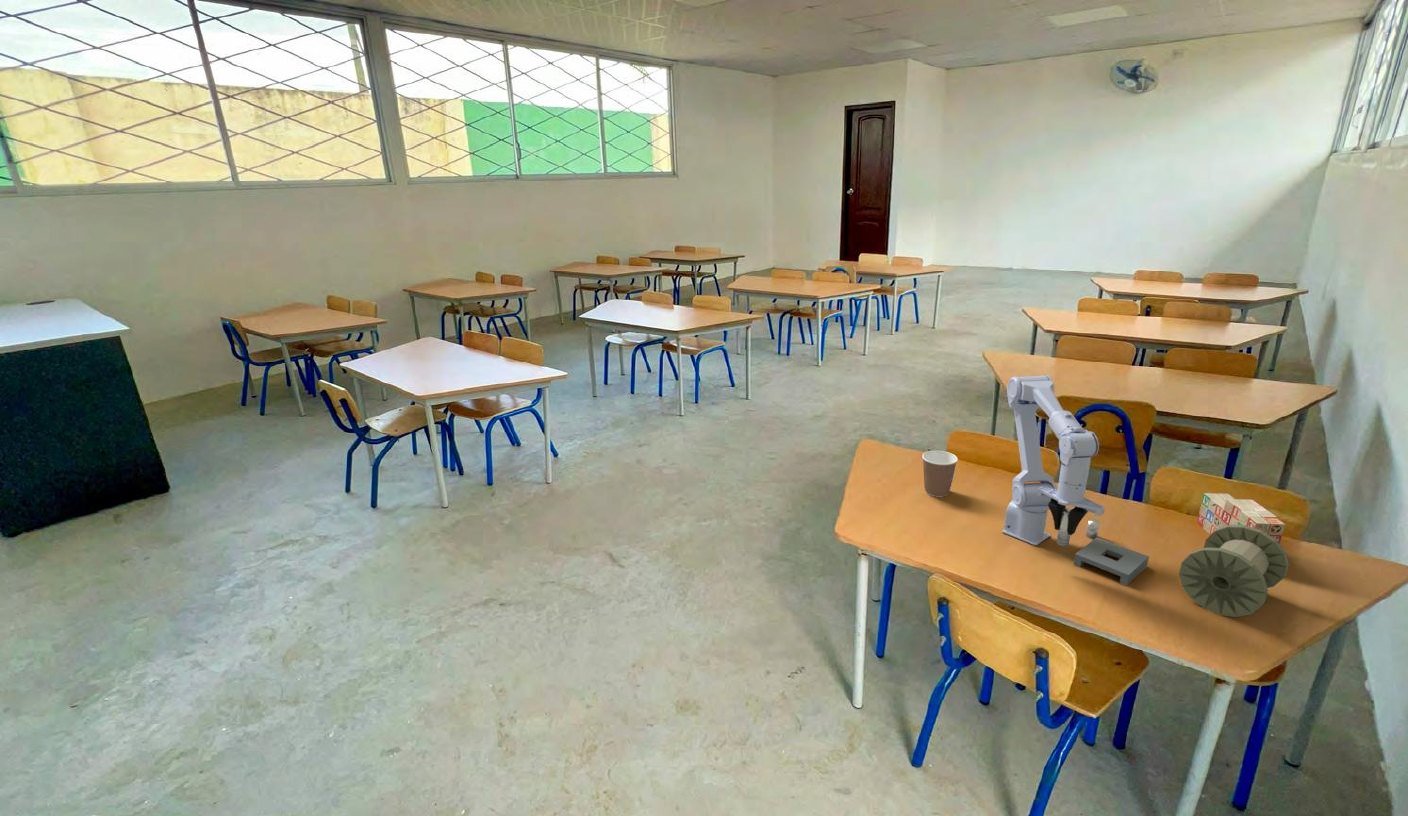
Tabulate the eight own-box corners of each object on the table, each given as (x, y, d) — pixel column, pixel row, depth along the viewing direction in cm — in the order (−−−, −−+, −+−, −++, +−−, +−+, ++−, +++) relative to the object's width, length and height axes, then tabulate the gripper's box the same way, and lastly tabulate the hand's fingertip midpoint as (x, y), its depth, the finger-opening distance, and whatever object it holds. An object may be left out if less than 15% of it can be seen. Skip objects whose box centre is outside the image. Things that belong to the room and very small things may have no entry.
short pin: (1084, 535, 173) (1086, 521, 172) (1088, 532, 175) (1091, 518, 173) (1094, 539, 171) (1097, 525, 170) (1098, 536, 173) (1101, 521, 171)
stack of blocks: (1195, 522, 177) (1205, 482, 173) (1220, 523, 176) (1231, 483, 172) (1244, 566, 158) (1256, 522, 153) (1273, 567, 157) (1286, 523, 152)
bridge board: (1073, 564, 161) (1075, 553, 160) (1094, 547, 168) (1096, 537, 167) (1126, 585, 152) (1128, 575, 151) (1146, 566, 159) (1149, 556, 158)
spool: (1200, 569, 157) (1213, 515, 152) (1278, 598, 146) (1296, 541, 141) (1173, 596, 148) (1187, 539, 143) (1254, 629, 136) (1273, 568, 131)
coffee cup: (959, 499, 195) (963, 463, 191) (925, 500, 195) (928, 464, 191) (947, 484, 205) (950, 449, 201) (915, 485, 205) (917, 451, 201)
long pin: (1054, 543, 158) (1059, 510, 155) (1059, 539, 159) (1064, 507, 157) (1065, 547, 156) (1071, 514, 153) (1070, 543, 158) (1076, 511, 155)
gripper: (1033, 475, 155) (1027, 525, 160) (1098, 496, 144) (1088, 548, 149) (1048, 467, 159) (1041, 516, 164) (1111, 486, 148) (1102, 538, 153)
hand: (1064, 530), depth 157 cm, fingers closed on long pin, 3 cm apart
